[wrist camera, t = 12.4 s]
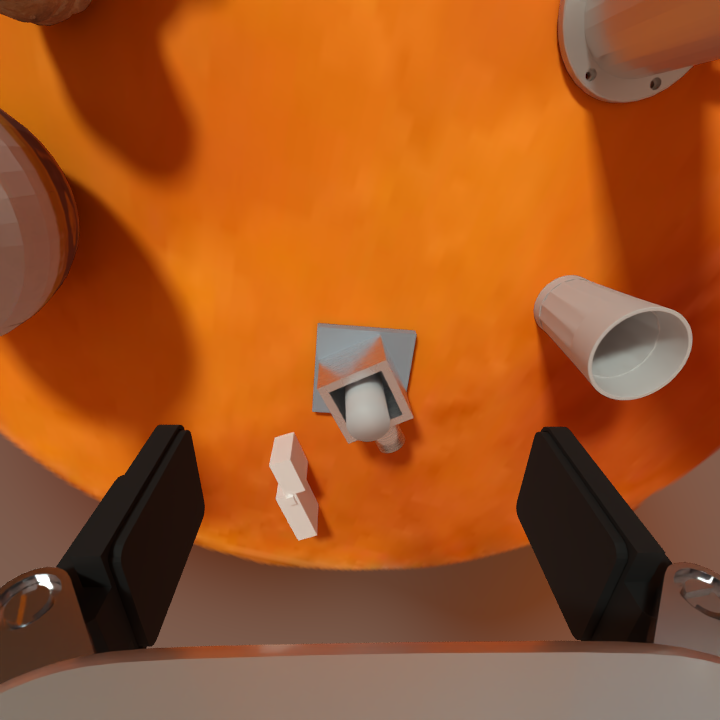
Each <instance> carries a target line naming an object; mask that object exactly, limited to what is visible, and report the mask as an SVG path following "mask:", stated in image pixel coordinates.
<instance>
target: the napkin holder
mask: <svg viewBox="0 0 720 720" xmlns="http://www.w3.org/2000/svg"><path fill="white" fill-rule="evenodd" d="M269 466H270V468H271V470H272V472H273V474H274V476H275V478H276V480H277V481H278V488H277V494H276V501H277V502H278V504H279V506H280V508H281V510H282V512H283V513H284V515H285V517H286V519H287V521H288V523H289V524H290V526H291V528H292V530H293V532H294V534H295V535H296V537H297V539H298V540H302V539H305V538H309V537H313V536H316V535H317V527H318V505H319V504H318V502H317V500H316V498H315V496H314V494H313V492H312V490H311V488H310V486H309V484H308V482H307V480H306V479H307V468H308V461H307V458H306V456H305V454H304V452H303V450H302V448H301V446H300V444H299V442H298V439H297V437H296V435H295V433H294V432H292V433H289V434H286V435H282V436H279V437H275V440H274V444H273V449H272V454H271V459H270V464H269Z"/></svg>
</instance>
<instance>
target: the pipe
mask: <svg viewBox="0 0 720 720" xmlns="http://www.w3.org/2000/svg"><path fill="white" fill-rule="evenodd" d="M91 1H92V0H0V14H3V15H5V16H8V17H10V18H13V19H16V20H18V21H21V22H31V23H34V24H37V25H47V26H51V25H54V24H57V23H59V22H62V21H63V20H66V19H68V18H69V17H70V16H71V15H72V14H75V13H80V12H82V11H84V10H85V9H86V8H87V7H88V5H89V4H90V3H91Z"/></svg>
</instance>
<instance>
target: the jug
mask: <svg viewBox="0 0 720 720" xmlns="http://www.w3.org/2000/svg"><path fill="white" fill-rule="evenodd" d="M79 235H80V232H79V216H78V210H77V205H76V202H75V199H74V196H73V193H72V190H71V187H70V185H69V183H68V181H67V179H66V177H65V175H64V173H63V172H62V170H61V168H60V167H59V165H58V164H57V162H56V161H55V159H54V158H53V156H52V155H51V154H50V153H49V151H48V150H47V149H46V148H45V147H44V145H43V144H42V143H41V142H40V141H39V140H38V139H37V138H36V137H35V136H34V135H33V134H32V133H31V132H30V131H29V130H28V129H27V128H25V127H24V126H23V125H21V124H20V123H19V122H17V121H16V120H15V119H14V118H12V117H11V116H10V115H8V114H7V113H6V112H4V111H3V110H2V109H0V336H2V335H4V334H7V333H8V332H10V331H11V330H13V329H14V328H16V327H17V326H19V325H20V324H22V323H23V322H25V321H26V320H27V319H29V318H30V317H32V316H33V315H35V314H36V313H37V312H38V311H39V310H40V309H41V308H42V307H43V306H44V305H45V304H46V303H47V302H48V301H49V300H50V298H51V297H52V296H53V295H54V293H55V292H56V291H57V290H58V289H59V287H60V286H61V284H62V283H63V281H64V280H65V278H66V276H67V275H68V272H69V270H70V267H71V264H72V262H73V259H74V256H75V253H76V251H77V248H78V241H79Z"/></svg>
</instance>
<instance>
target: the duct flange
mask: <svg viewBox="0 0 720 720" xmlns="http://www.w3.org/2000/svg"><path fill="white" fill-rule="evenodd" d="M378 334H380V335H381V337H382V339H383V341H384V343H385V346H386V348H387V350H388V352H389V354H390V356H391V359H392V361H393V363H394V365H395V367H396V369H397V371H398V374H399V376H400V378H401V380H402V382H403V384H404V387H405V390H406V392H407V386H408V381H409V375H410V369H411V363H412V358H413V352H414V346H415V340H416V335H417V334H416V332H415V331H413V330H400V329H387V328H374V327H361V326H348V325H335V324H322V323H318V329H317V345H316V361H315V377H314V393H313V409H312V412H327V413H331V412H330V411H329V409H328V407H327V406H326V404H325V402H324V400H323V399H322V397H321V395H320V393H319V392H318V390H317V383H318V370H319V360H320V359H322V358H325V357H327V356H329V355H332V354H334V353H336V352H339V351H341V350H343V349H346V348H348V347H350V346H352V345H355V344H357V343H359V342H362V341H364V340H366V339H369V338H371V337H373V336H376V335H378ZM387 386H389V385H388V383H387V381H386V379H385V377H384V375H383V373H382V371H379V372H377V373H375V374H372V375H370V376H368V377H365V378H363V379H360V380H358V381H356V382H353V383H351V384H348V385H346V386H344V387H343V388H344V390H345V405H346V427H347V430H348V432H349V434H350V435H351V436H352V437H354V438H355V439H357V440H360V441H365V442H370V441H375V440H378V439H380V438H381V437H383V436H384V435H385V434H386V433H387V431H388V430H389V427H390V418H389V413H388V408H387V403H386V398H385V393H384V388H385V387H387Z"/></svg>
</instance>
